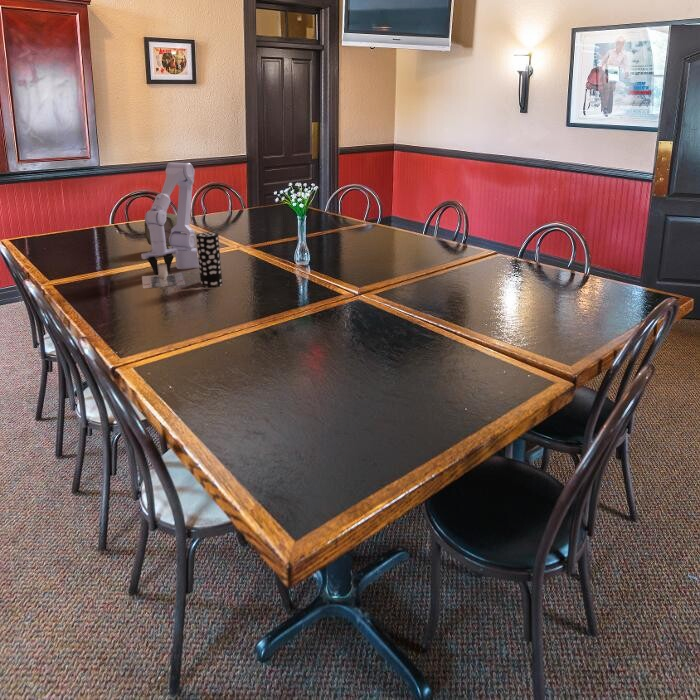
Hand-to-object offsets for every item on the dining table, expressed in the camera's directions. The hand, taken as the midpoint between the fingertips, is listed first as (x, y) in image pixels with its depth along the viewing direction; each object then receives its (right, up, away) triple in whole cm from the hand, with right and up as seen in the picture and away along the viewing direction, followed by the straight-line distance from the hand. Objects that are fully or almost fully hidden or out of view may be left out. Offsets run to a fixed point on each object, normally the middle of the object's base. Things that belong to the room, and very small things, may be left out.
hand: (162, 273), depth 268 cm
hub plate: (+2, -4, -4) cm, 6 cm away
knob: (0, -1, 0) cm, 1 cm away
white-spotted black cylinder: (+22, -6, -8) cm, 24 cm away
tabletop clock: (-11, +15, +45) cm, 49 cm away
